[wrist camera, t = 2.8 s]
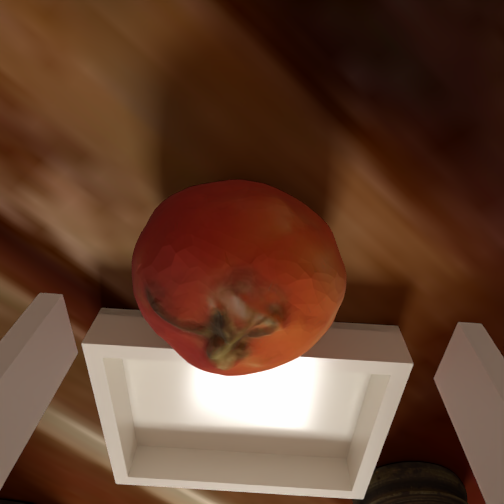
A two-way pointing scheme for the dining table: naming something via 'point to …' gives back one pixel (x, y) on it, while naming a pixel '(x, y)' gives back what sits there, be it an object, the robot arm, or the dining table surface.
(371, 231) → the dining table surface
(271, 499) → the dining table surface
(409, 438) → the dining table surface
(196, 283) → the tomato
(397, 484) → the container
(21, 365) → the robot arm
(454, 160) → the dining table surface
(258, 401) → the dish
